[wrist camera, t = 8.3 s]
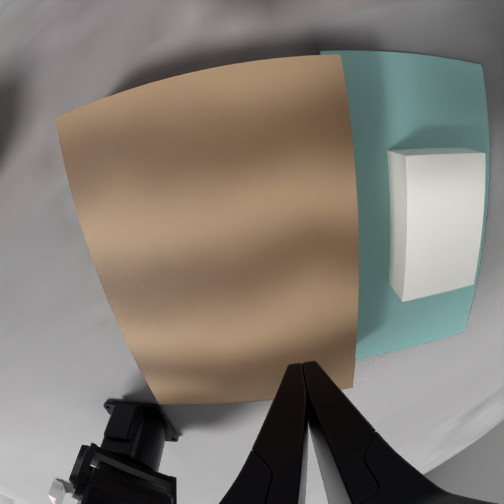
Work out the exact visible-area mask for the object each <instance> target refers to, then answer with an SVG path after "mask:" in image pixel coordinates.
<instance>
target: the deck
mask: <svg viewBox="0 0 504 504" xmlns="http://www.w3.org/2000/svg"><path fill="white" fill-rule="evenodd" d="M56 124H57V129H58V135H59V140H60V145H61V150H62V155H63V159H64V164H65V168H66V173H67V177H68V181H69V185H70V189H71V192H72V196H73V200H74V203H75V207H76V210H77V214H78V217H79V221H80V224H81V227H82V230H83V233H84V236H85V240H86V243H87V246H88V249H89V251H90V254H91V257H92V260H93V263H94V266H95V268H96V271H97V274H98V276H99V279H100V282H101V284H102V287H103V289H104V292H105V294H106V297H107V299H108V302H109V304H110V306H111V309H112V311H113V313H114V316H115V318H116V320H117V323H118V325H119V327H120V329H121V331H122V334H123V336H124V338H125V340H126V342H127V344H128V346H129V348H130V350H131V353H132V355H133V357H134V359H135V361H136V363H137V365H138V366H139V368H140V370H141V372H142V374H143V376H144V378H145V380H146V382H147V384H148V385H149V387H150V389H151V391H152V393H153V394H154V396H155V398H156V400H157V402H158V403H159V404H165V405H192V404H223V403H239V402H253V401H264V400H274V397H275V395H276V393H277V390H278V388H279V385H280V383H281V380H282V378H283V375H284V373H285V370H286V368H287V366H288V364H292V363H301V364H302V363H303V362H306V361H313V360H314V361H316V362H317V363H318V364H319V365H320V366H321V367H322V369H323V370H324V371H325V372H326V373H327V374H328V376H329V377H330V378H331V379H332V380H333V382H334V383H335V384H336V385H337V386H338V387H339V389H340V390H342V389H347V388H352V387H353V379H354V368H355V355H356V341H357V323H358V295H359V234H358V206H357V188H356V173H355V161H354V150H353V140H352V130H351V122H350V114H349V106H348V99H347V92H346V85H345V79H344V73H343V67H342V61H341V56H340V54H334V55H310V56H295V57H284V58H274V59H265V60H257V61H250V62H243V63H237V64H231V65H225V66H220V67H214V68H209V69H205V70H200V71H195V72H191V73H186V74H182V75H178V76H174V77H170V78H166V79H163V80H159V81H155V82H152V83H148V84H145V85H142V86H138V87H135V88H132V89H129V90H126V91H123V92H120V93H117V94H114V95H111V96H108V97H106V98H103V99H100V100H98V101H95V102H92V103H90V104H87V105H85V106H82V107H80V108H77V109H75V110H73V111H70V112H68V113H66V114H63V115H61V116H59V117H57V118H56Z"/></svg>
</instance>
